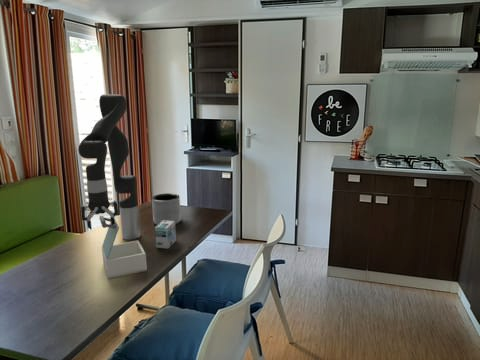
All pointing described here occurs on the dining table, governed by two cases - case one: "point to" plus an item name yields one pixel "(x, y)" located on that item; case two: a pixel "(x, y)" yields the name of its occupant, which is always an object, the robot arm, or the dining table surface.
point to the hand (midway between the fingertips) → (101, 227)
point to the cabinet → (125, 259)
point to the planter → (166, 208)
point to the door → (109, 235)
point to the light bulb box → (165, 234)
